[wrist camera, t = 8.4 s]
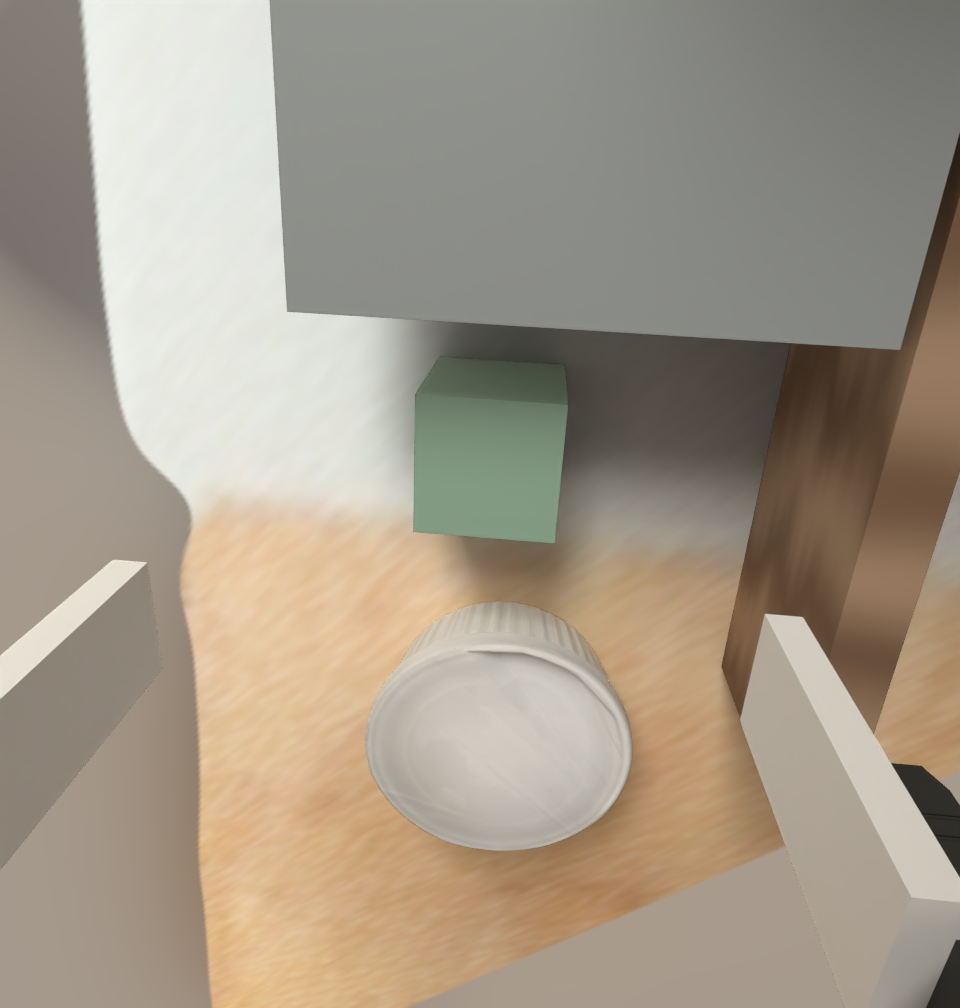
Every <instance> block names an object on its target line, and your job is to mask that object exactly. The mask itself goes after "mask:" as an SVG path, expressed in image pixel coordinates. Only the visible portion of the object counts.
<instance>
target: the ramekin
mask: <svg viewBox="0 0 960 1008" xmlns="http://www.w3.org/2000/svg"><path fill="white" fill-rule="evenodd" d="M365 747H366V755H367V760H368V764H369V768H370V772H371V775H372V777H373V778H374V780H375V781H376V783H377V785H378V787H379V789H380V790H381V792H382V793H383V795H384V796H385V797H386V799H387V800H388V801H389V802H390V803H391V804H392V806H393V807H394V808H395V809H396V810H398V811H399V812H400V813H401V814H402V815H403V816H404V817H406V818H407V819H408V820H409V821H411V822H412V823H413V824H415V825H416V826H418V827H419V828H420V829H422V830H423V831H425V832H427V833H429V834H431V835H433V836H436V837H437V838H439V839H441V840H443V841H446V842H449V843H452V844H456V845H459V846H464V847H469V848H476V849H483V850H492V851H517V850H528V849H533V848H539V847H544V846H547V845H550V844H553V843H557V842H559V841H562V840H564V839H567V838H569V837H571V836H573V835H575V834H577V833H579V832H581V831H582V830H584V829H586V828H587V827H589V826H590V825H592V824H593V823H595V822H596V821H597V820H599V819H600V818H601V817H602V816H603V815H604V814H605V813H606V812H607V811H608V810H609V809H610V807H611V806H612V805H613V804H614V802H615V801H616V800H617V798H618V797H619V795H620V793H621V792H622V790H623V788H624V785H625V783H626V781H627V778H628V775H629V773H630V768H631V763H632V736H631V730H630V725H629V721H628V717H627V714H626V711H625V709H624V706H623V704H622V702H621V700H620V698H619V696H618V695H617V693H616V691H615V690H614V688H613V687H612V685H611V684H610V683H609V681H608V679H607V677H606V675H605V672H604V670H603V668H602V666H601V663H600V661H599V659H598V658H597V656H596V655H595V653H594V651H593V649H592V648H591V646H590V645H589V644H588V643H587V642H586V640H585V638H584V637H583V636H582V635H581V634H579V633H578V632H577V631H576V629H575V628H574V627H572V626H570V625H568V624H567V623H566V622H565V621H564V620H562V619H560V618H558V617H556V616H555V615H553V614H551V613H549V612H546V611H543V610H541V609H539V608H535V607H532V606H529V605H526V604H519V603H515V602H502V601H495V602H483V603H479V604H473V605H470V606H467V607H463V608H459V609H457V610H455V611H453V612H451V613H448V614H446V615H444V616H443V617H442V618H440V619H438V620H436V621H435V622H433V623H432V624H431V625H430V626H428V627H427V628H425V629H424V630H423V631H422V633H421V634H420V635H419V636H418V637H417V638H416V639H415V640H414V641H413V643H412V645H411V646H410V648H409V649H408V651H407V652H406V654H405V656H404V657H403V659H402V661H401V662H400V664H399V666H398V667H397V668H396V669H395V671H394V672H393V673H392V674H391V675H390V676H389V677H388V679H387V680H386V681H385V683H384V684H383V686H382V687H381V689H380V691H379V692H378V694H377V696H376V699H375V701H374V703H373V706H372V709H371V712H370V715H369V719H368V723H367V729H366V736H365Z"/></svg>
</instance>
